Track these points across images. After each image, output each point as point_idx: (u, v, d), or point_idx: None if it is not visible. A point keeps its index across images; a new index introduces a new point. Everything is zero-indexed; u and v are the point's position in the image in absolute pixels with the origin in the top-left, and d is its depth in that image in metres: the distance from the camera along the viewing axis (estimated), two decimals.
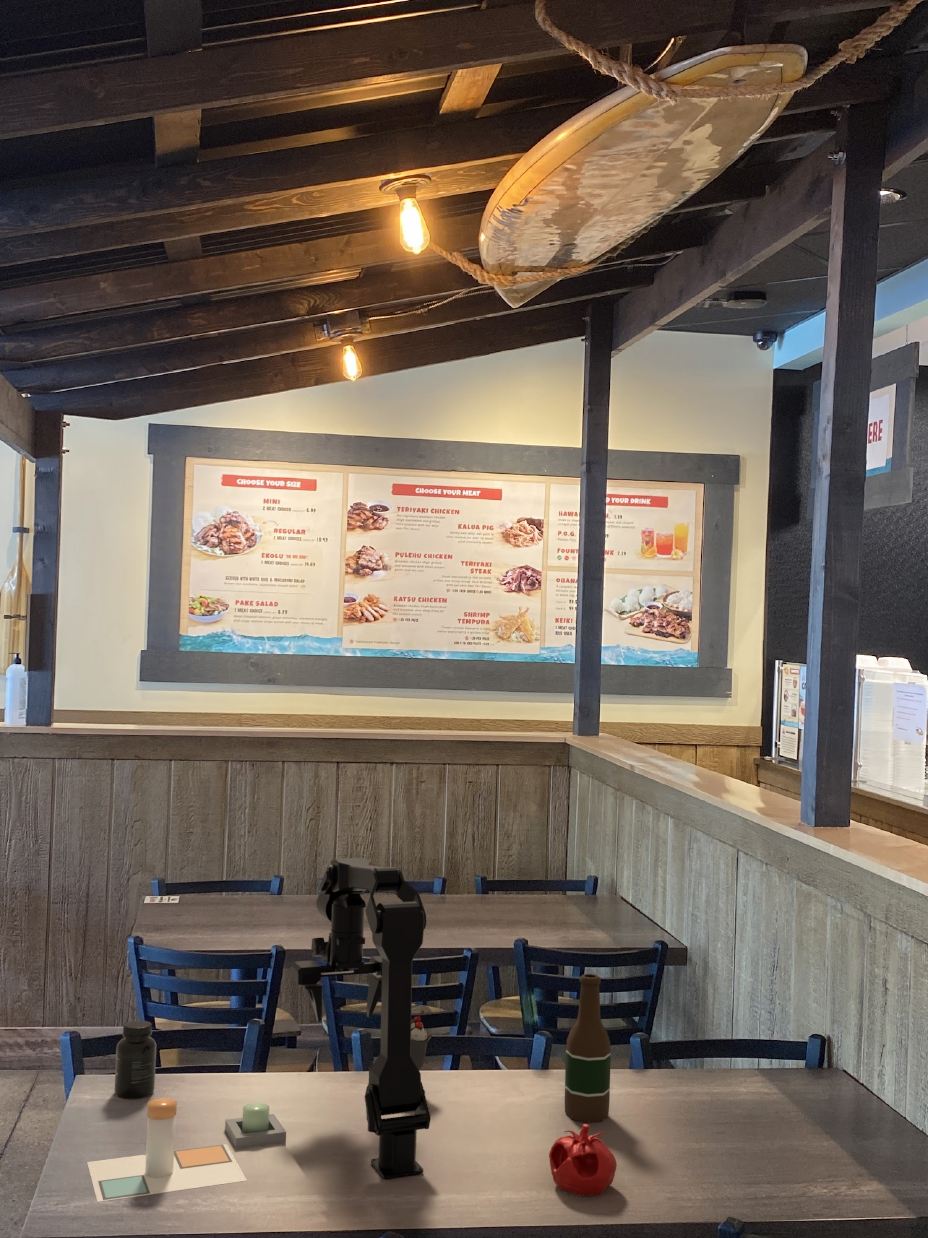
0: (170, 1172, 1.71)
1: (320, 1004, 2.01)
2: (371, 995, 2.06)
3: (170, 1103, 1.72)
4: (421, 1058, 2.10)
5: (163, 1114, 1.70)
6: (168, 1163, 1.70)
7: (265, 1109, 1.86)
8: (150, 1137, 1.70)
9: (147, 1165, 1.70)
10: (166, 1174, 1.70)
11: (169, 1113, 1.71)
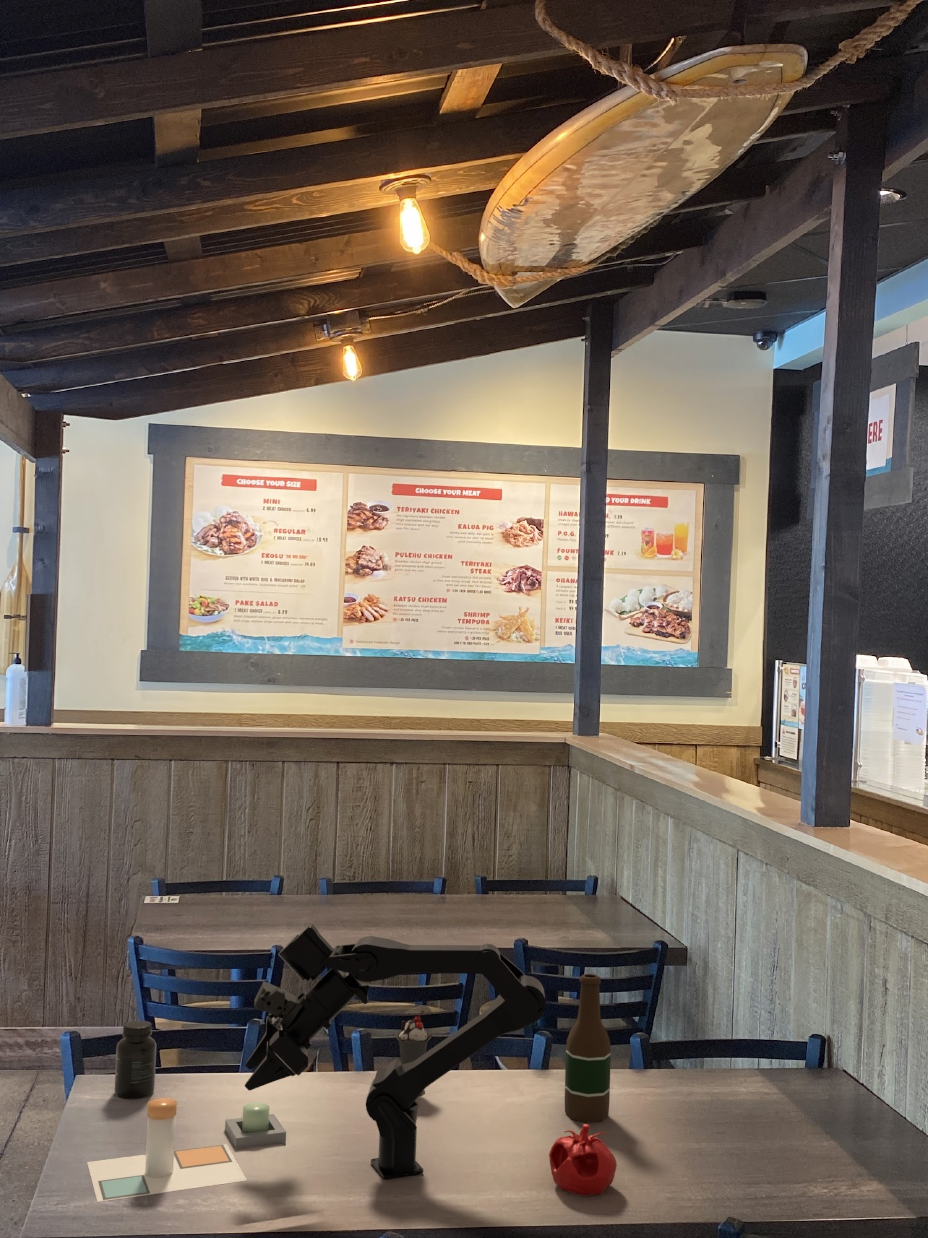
0: (170, 1172, 1.71)
1: None
2: None
3: (169, 1103, 1.72)
4: None
5: (163, 1113, 1.70)
6: (168, 1163, 1.70)
7: (265, 1109, 1.86)
8: (150, 1137, 1.70)
9: (147, 1165, 1.70)
10: (166, 1174, 1.70)
11: (169, 1113, 1.71)
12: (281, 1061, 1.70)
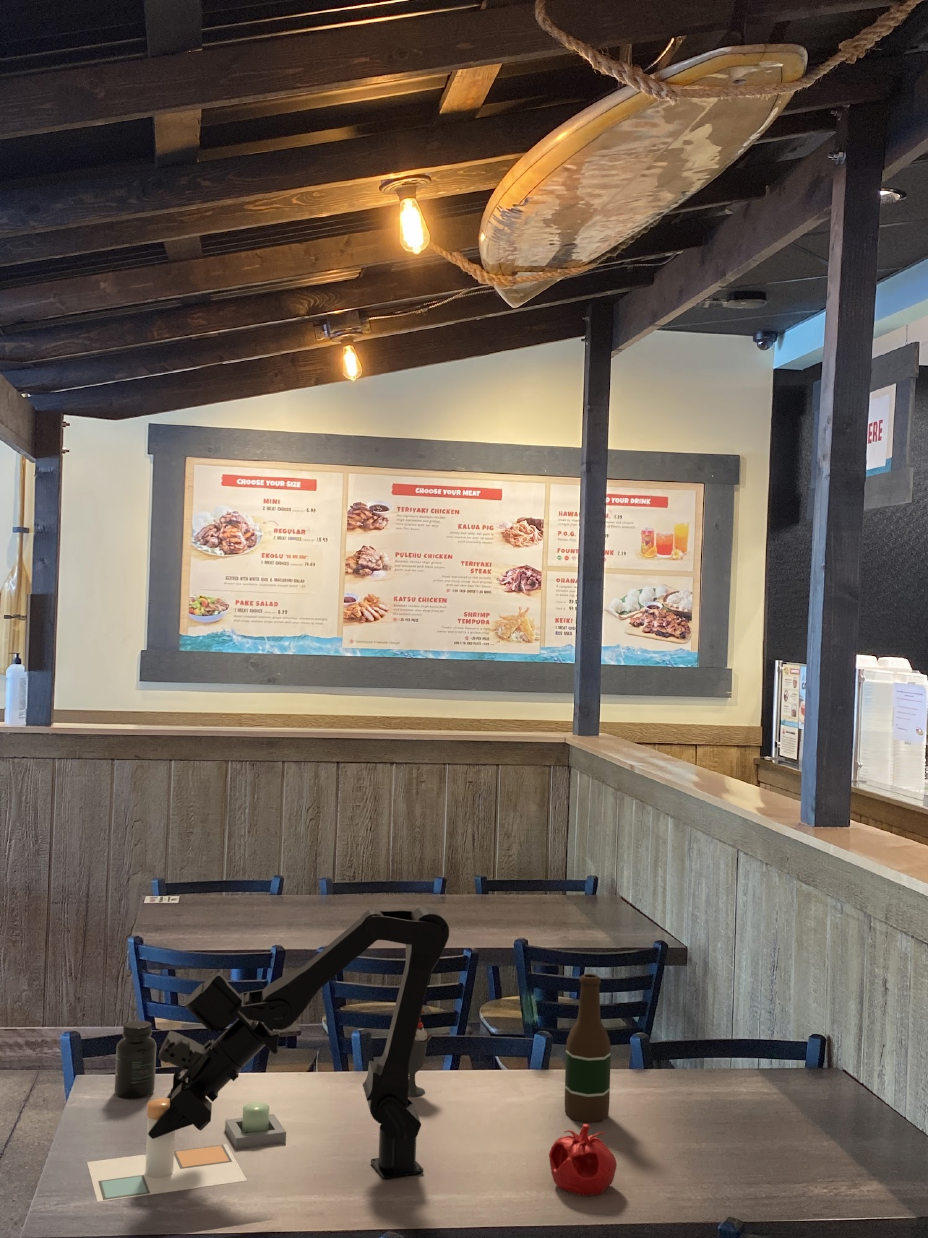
0: (170, 1172, 1.71)
1: None
2: None
3: (169, 1103, 1.72)
4: (421, 1058, 2.10)
5: None
6: (168, 1163, 1.70)
7: (265, 1109, 1.86)
8: (150, 1137, 1.70)
9: (147, 1165, 1.70)
10: (166, 1174, 1.70)
11: None
12: None
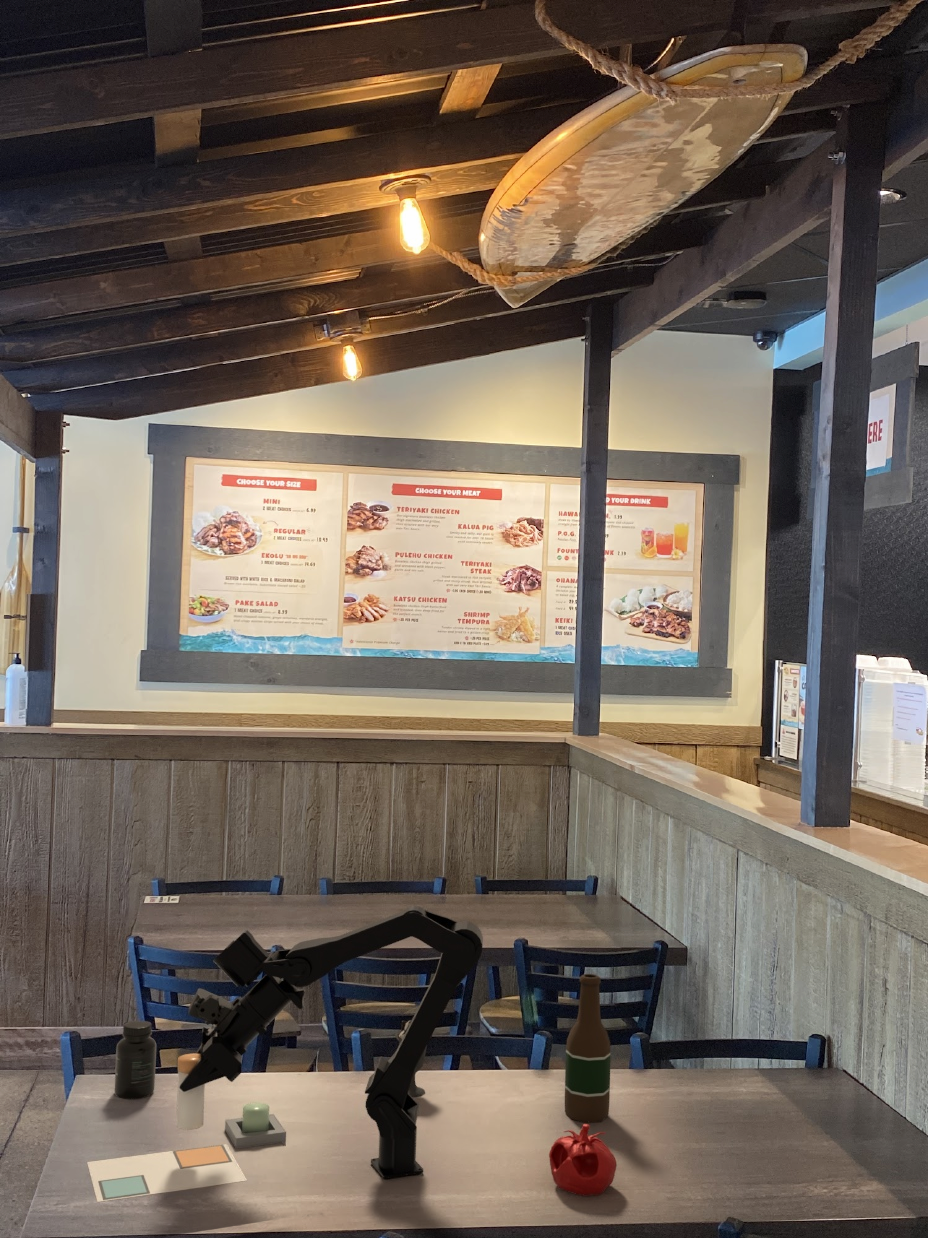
0: (201, 1124, 1.76)
1: None
2: None
3: (199, 1057, 1.77)
4: (421, 1058, 2.10)
5: None
6: (198, 1115, 1.75)
7: (265, 1109, 1.86)
8: (181, 1091, 1.75)
9: (178, 1118, 1.75)
10: (197, 1126, 1.75)
11: None
12: None
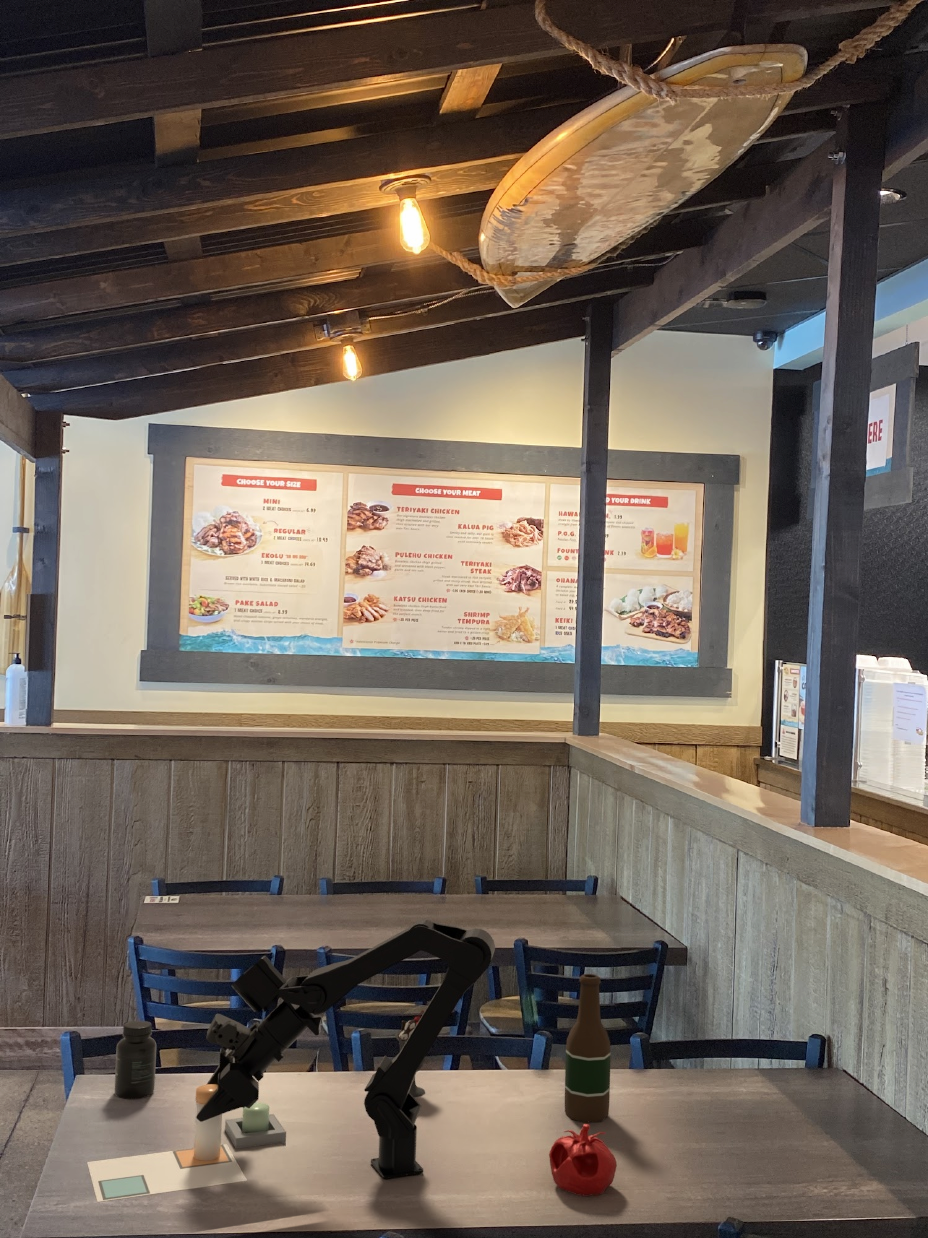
0: (217, 1155, 1.77)
1: None
2: None
3: None
4: None
5: None
6: (215, 1147, 1.77)
7: (265, 1109, 1.86)
8: (198, 1122, 1.77)
9: (195, 1148, 1.77)
10: (214, 1157, 1.76)
11: None
12: (232, 1093, 1.72)
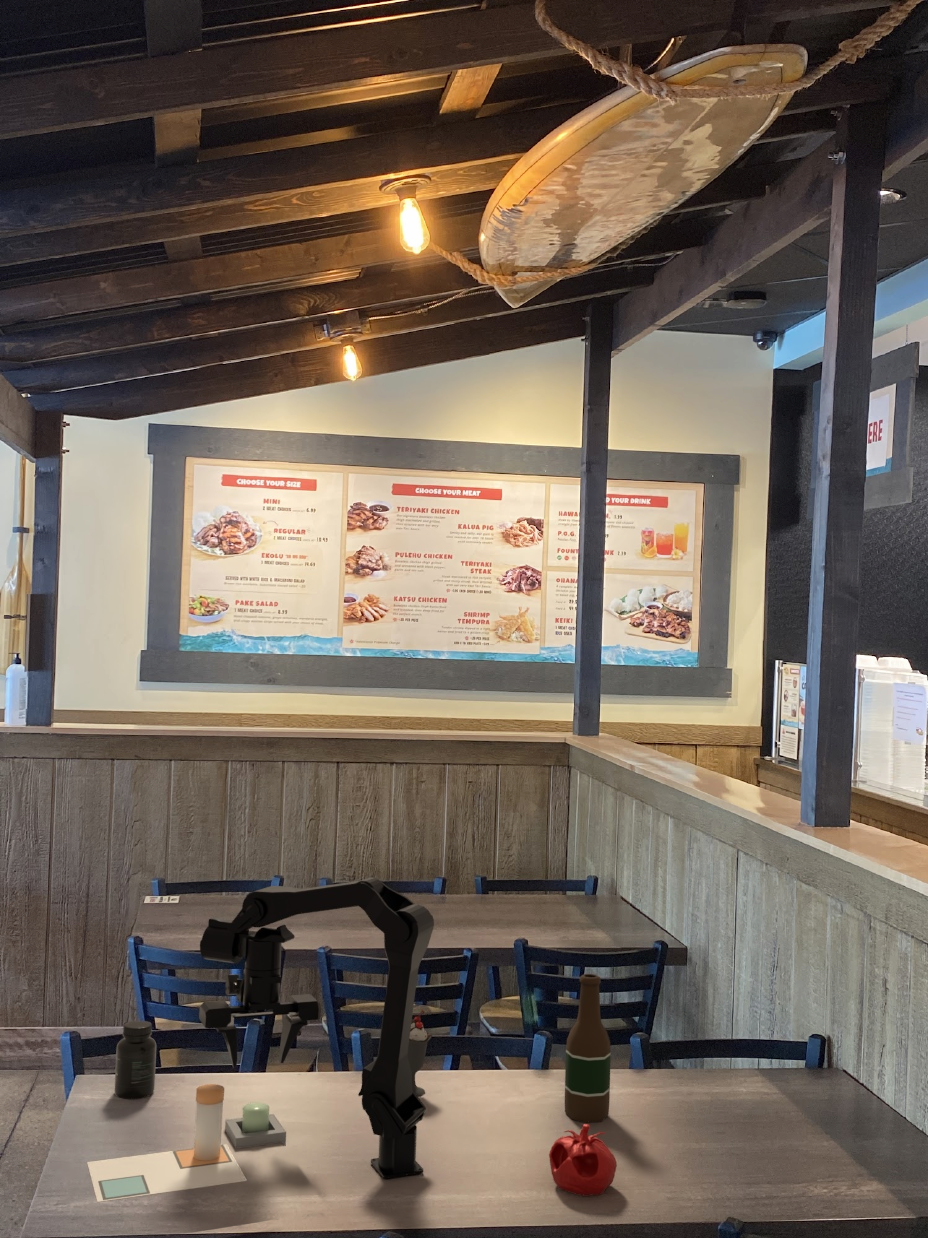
0: (218, 1155, 1.77)
1: (236, 1048, 1.84)
2: (284, 1038, 1.88)
3: (217, 1089, 1.79)
4: (421, 1058, 2.10)
5: (211, 1099, 1.76)
6: (215, 1147, 1.77)
7: (265, 1109, 1.86)
8: (198, 1121, 1.77)
9: (196, 1148, 1.77)
10: (214, 1157, 1.76)
11: (217, 1098, 1.77)
12: None
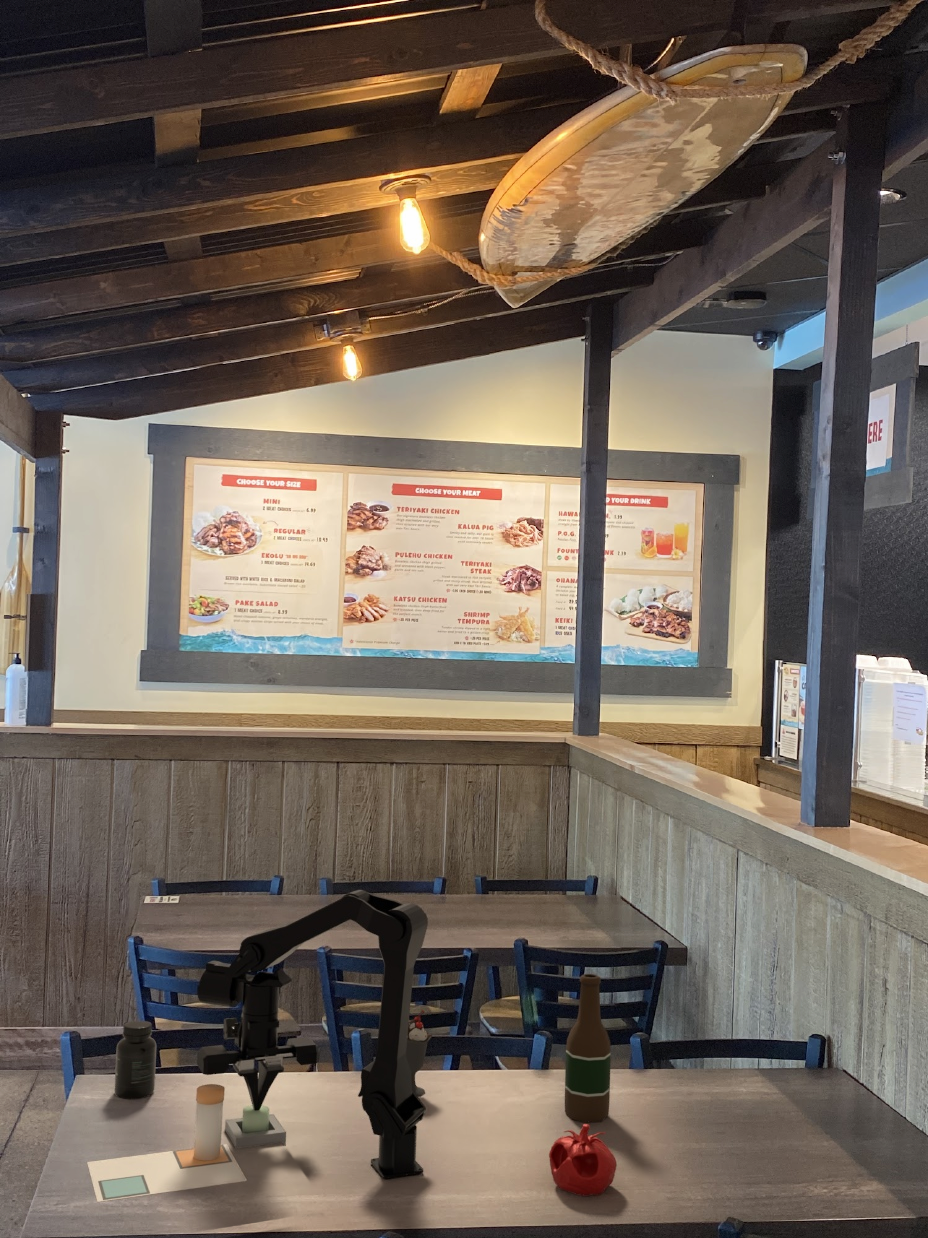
0: (218, 1155, 1.77)
1: (257, 1091, 1.85)
2: (260, 1085, 1.86)
3: (218, 1089, 1.79)
4: (421, 1058, 2.10)
5: (212, 1099, 1.76)
6: (216, 1147, 1.77)
7: (265, 1111, 1.86)
8: (199, 1121, 1.77)
9: (196, 1148, 1.77)
10: (214, 1157, 1.76)
11: (218, 1098, 1.77)
12: (236, 1068, 1.86)
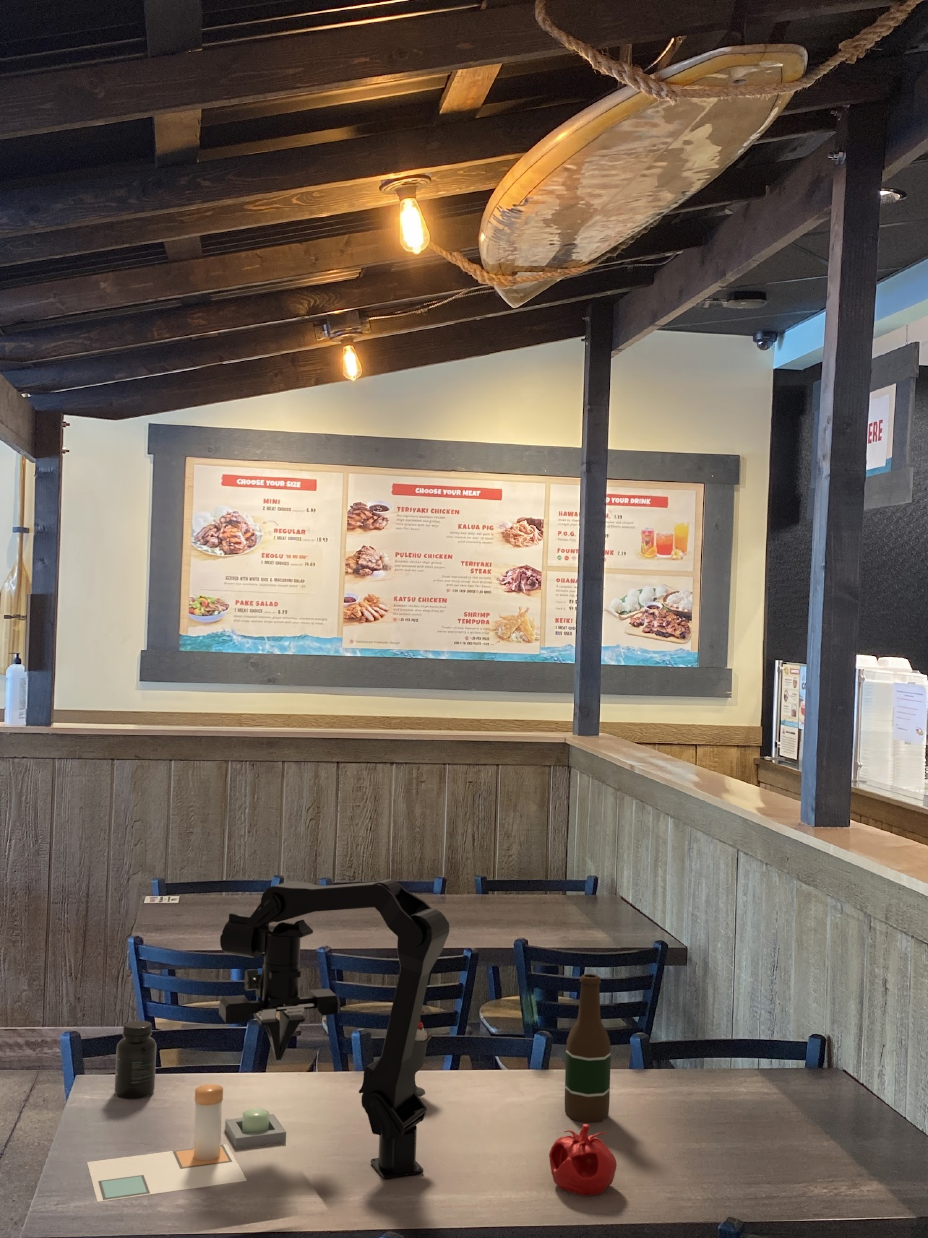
0: (218, 1155, 1.77)
1: (278, 1040, 1.86)
2: (282, 1035, 1.87)
3: (216, 1089, 1.78)
4: (421, 1058, 2.10)
5: (211, 1099, 1.76)
6: (216, 1147, 1.77)
7: (265, 1115, 1.86)
8: (198, 1122, 1.76)
9: (196, 1149, 1.76)
10: (214, 1157, 1.76)
11: (216, 1099, 1.77)
12: (257, 1018, 1.86)
